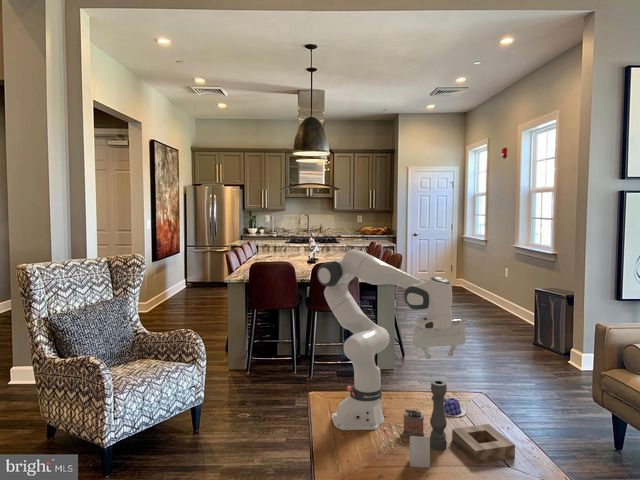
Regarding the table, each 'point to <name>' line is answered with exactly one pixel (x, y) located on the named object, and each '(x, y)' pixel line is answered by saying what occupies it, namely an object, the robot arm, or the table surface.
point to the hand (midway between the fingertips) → (439, 357)
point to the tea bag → (419, 451)
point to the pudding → (453, 407)
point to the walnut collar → (483, 444)
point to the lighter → (413, 423)
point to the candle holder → (438, 416)
